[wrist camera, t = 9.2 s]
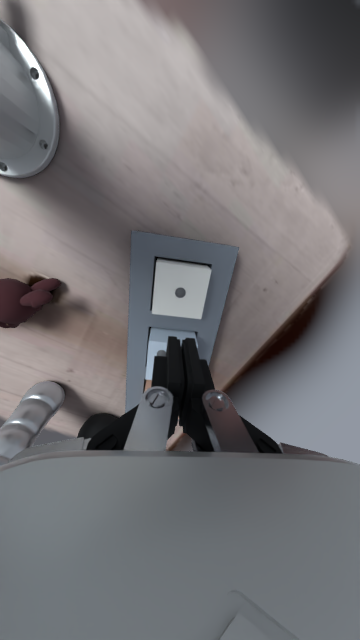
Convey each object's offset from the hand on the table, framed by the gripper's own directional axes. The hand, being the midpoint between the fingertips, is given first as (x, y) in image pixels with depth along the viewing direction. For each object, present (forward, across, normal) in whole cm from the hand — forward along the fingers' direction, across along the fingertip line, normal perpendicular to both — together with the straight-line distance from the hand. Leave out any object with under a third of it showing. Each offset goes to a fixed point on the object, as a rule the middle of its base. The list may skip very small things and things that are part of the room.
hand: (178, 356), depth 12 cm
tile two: (+17, -1, +11) cm, 20 cm away
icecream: (+20, +23, +5) cm, 31 cm away
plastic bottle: (+20, +21, +24) cm, 38 cm away
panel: (+19, -1, +11) cm, 22 cm away
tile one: (+19, -1, 0) cm, 19 cm away
